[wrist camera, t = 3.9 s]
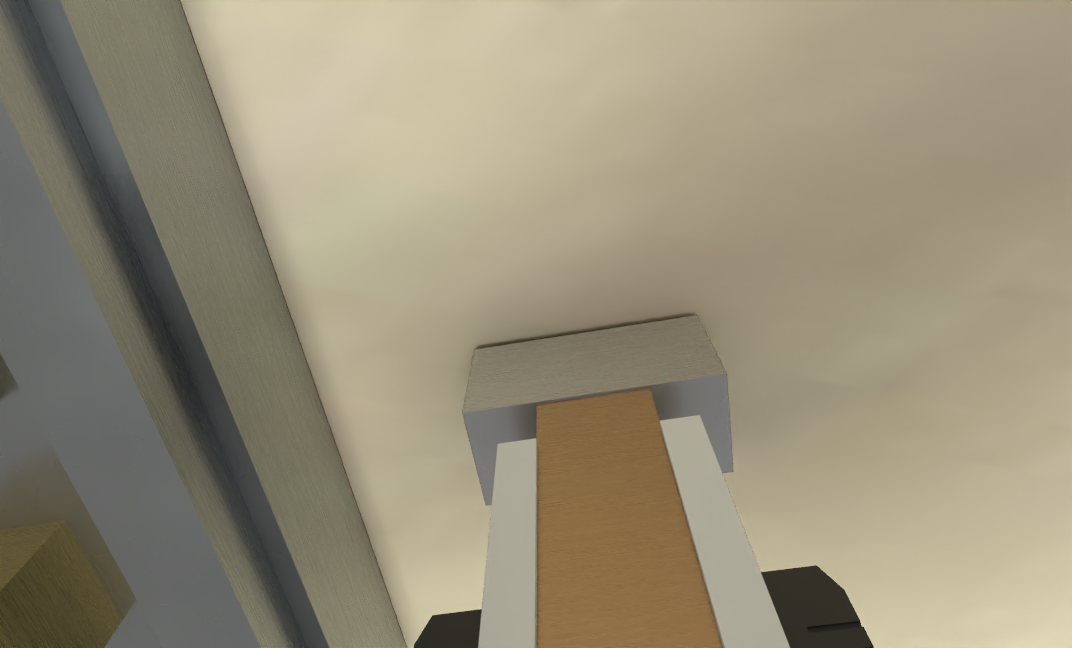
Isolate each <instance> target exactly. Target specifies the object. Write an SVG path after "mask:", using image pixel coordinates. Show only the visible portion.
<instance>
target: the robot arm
mask: <svg viewBox="0 0 1072 648" xmlns="http://www.w3.org/2000/svg"><path fill="white" fill-rule="evenodd" d="M660 427H661V431H662V434H663V438H664V441H665V445H666V448H667V452H668V455H669V459H670V462H671V466H672V469H673V473H674V477H675V480H676V484H677V487H678V491H679V494H680V498H681V501H682V505H683V508H684V512H685V515H686V519H687V522H688V526H689V529H690V533H691V536H692V540H693V543H694V547H695V550H696V554H697V557H698V561H699V564H700V568H701V571H702V575H703V579H704V582H705V586H706V589H707V593H708V596H709V600H710V603H711V607H712V610H713V614H714V617H715V621H716V624H717V628H718V631H719V635H720V638H721V642H722V645H723V648H874V647H873V645H872V643H871V641H870V639H869V637H868V635H867V633H866V631H865V629H864V627H862V626H861V623H860V620H859V618H858V616H857V614H856V612H855V610H854V608H853V606H852V604H851V602H850V600H849V598H848V596H847V594H846V593H845V591H844V589H843V588H841V587H840V586H839V585H838V584H837V583H836V582H835V581H834V580H832V579H831V578H830V577H829V576H828V575H827V574H826V573H824V572H823V571H822V570H821V569H820V568H819V567H818V566H809V567H801V568H793V569H785V570H777V571H769V572H760V569H759V566H758V564H757V561H756V559H755V556H754V554H753V551H752V548H751V546H750V543H749V541H748V538H747V536H746V533H745V530H744V528H743V525H742V523H741V520H740V517H739V515H738V512H737V510H736V507H735V505H734V502H733V499H732V497H731V494H730V492H729V489H728V487H727V484H726V481H725V479H724V476H723V474H722V471H721V469H720V466H719V463H718V461H717V458H716V456H715V453H714V451H713V448H712V445H711V443H710V440H709V438H708V435H707V433H706V430H705V427H704V425H703V422H702V420H701V417H700V415H696V416H689V417H682V418H675V419H668V420H661V421H660ZM537 450H538V445H537V440H536V438H535V439H528V440H521V441H514V442H507V443H500V444H498V445H497V456H496V466H495V477H494V487H493V498H492V508H491V519H490V529H489V539H488V550H487V560H486V571H485V581H484V592H483V602H482V609H480V610H472V611H464V612H456V613H448V614H440V615H433V616H432V617H431V619H430V620H429V622H428V624H427V625H426V627H425V628H424V630H423V632H422V633H421V635H420V636H419V638H418V640H417V641H416V643H415V644H414V648H537Z"/></svg>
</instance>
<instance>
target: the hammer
mask: <svg viewBox="0 0 1072 648" xmlns="http://www.w3.org/2000/svg"><path fill="white" fill-rule="evenodd" d="M462 413H463V417H464V421H465V425H466V429H467V433H468V437H469V441H470V445H471V449H472V453H473V457H474V461H475V465H476V468H477V472H478V476H479V480H480V484H481V488H482V492H483V496H484V500H485V504H486V505H492V498H493V487H494V477H495V466H496V456H497V445H498V444H500V443H507V442H514V441H521V440H528V439H535V438H536V440H537V445H538V450H537V648H723V645H722V642H721V638H720V635H719V631H718V628H717V624H716V621H715V617H714V614H713V610H712V607H711V603H710V600H709V596H708V593H707V589H706V586H705V582H704V579H703V575H702V571H701V568H700V564H699V561H698V557H697V554H696V550H695V547H694V543H693V540H692V536H691V533H690V529H689V526H688V522H687V519H686V515H685V512H684V508H683V505H682V501H681V498H680V494H679V491H678V487H677V484H676V480H675V477H674V473H673V469H672V466H671V462H670V459H669V455H668V452H667V448H666V445H665V441H664V438H663V434H662V431H661V427H660V421H661V420H668V419H675V418H682V417H689V416H696V415H700V417H701V420H702V422H703V425H704V427H705V430H706V433H707V435H708V438H709V440H710V443H711V445H712V448H713V451H714V453H715V456H716V458H717V461H718V463H719V466H720V469H721V471H722V473H727V472H733V457H732V442H731V428H730V413H729V398H728V384H727V373H726V371H725V369H724V367H723V365H722V363H721V361H720V359H719V357H718V355H717V353H716V351H715V349H714V348H713V346H712V344H711V342H710V340H709V338H708V336H707V334H706V332H705V330H704V328H703V326H702V324H701V322H700V320H699V318H698V316H697V315H695V316H688V317H682V318H675V319H669V320H662V321H656V322H649V323H643V324H636V325H630V326H623V327H617V328H610V329H604V330H597V331H591V332H584V333H578V334H571V335H565V336H558V337H552V338H545V339H539V340H533V341H526V342H520V343H513V344H507V345H500V346H494V347H487V348H481V349H474V354H473V359H472V365H471V370H470V375H469V380H468V386H467V391H466V396H465V401H464V407H463V412H462Z"/></svg>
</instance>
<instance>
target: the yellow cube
mask: <svg viewBox="0 0 1072 648" xmlns="http://www.w3.org/2000/svg"><path fill="white" fill-rule="evenodd" d="M122 621H123V620H122V618H121V617H120V615H119V613H118V612H117V610H116V608H115V606H114V605H113V603H112V601H111V599H110V598H109V596H108V594H107V592H106V591H105V589H104V587H103V585H102V584H101V582H100V580H99V579H98V577H97V575H96V573H95V572H94V570H93V568H92V566H91V565H90V563H89V561H88V559H87V558H86V556H85V554H84V553H83V551H82V549H81V547H80V546H79V544H78V542H77V540H76V539H75V537H74V535H73V533H72V532H71V530H70V528H69V526H68V525H67V523H66V521H65V520H64V521H57V522H50V523H43V524H36V525H29V526H22V527H15V528H9V529H2V530H0V648H104V647H105V646H106V644H107V643H108V641H109V640H110V638H111V637H112V635H113V634H114V632H115V631H116V629H117V628H118V626H119V625H120V623H121V622H122Z"/></svg>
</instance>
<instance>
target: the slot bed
mask: <svg viewBox="0 0 1072 648" xmlns="http://www.w3.org/2000/svg"><path fill="white" fill-rule="evenodd" d="M64 520H65V521H66V523H67V525H68V526H69V528H70V530H71V532H72V533H73V535H74V537H75V539H76V540H77V542H78V544H79V546H80V547H81V549H82V551H83V553H84V554H85V556H86V558H87V559H88V561H89V563H90V565H91V566H92V568H93V570H94V572H95V573H96V575H97V577H98V579H99V580H100V582H101V584H102V585H103V587H104V589H105V591H106V592H107V594H108V596H109V598H110V599H111V601H112V603H113V605H114V606H115V608H116V610H117V612H118V613H119V615H120V617H121V618H122V620H123V621H122V622H121V623H120V625H119V626H118V628H117V629H116V631H115V632H114V634H113V635H112V637H111V638H110V640H109V641H108V643H107V644H106V646H105V647H104V648H407V647H406V644H405V641H404V638H403V635H402V633H401V630H400V627H399V624H398V621H397V618H396V615H395V613H394V610H393V607H392V604H391V601H390V598H389V596H388V593H387V590H386V587H385V584H384V581H383V578H382V576H381V573H380V570H379V567H378V564H377V561H376V559H375V556H374V553H373V550H372V547H371V544H370V541H369V539H368V536H367V533H366V530H365V527H364V524H363V522H362V519H361V516H360V513H359V510H358V507H357V504H356V502H355V499H354V496H353V493H352V490H351V487H350V485H349V482H348V479H347V476H346V473H345V470H344V467H343V465H342V462H341V459H340V456H339V453H338V450H337V447H336V445H335V442H334V439H333V436H332V433H331V430H330V428H329V425H328V422H327V419H326V416H325V413H324V410H323V408H322V405H321V402H320V399H319V396H318V393H317V391H316V388H315V385H314V382H313V379H312V376H311V373H310V371H309V368H308V365H307V362H306V359H305V356H304V354H303V351H302V348H301V345H300V342H299V339H298V336H297V334H296V331H295V328H294V325H293V322H292V319H291V317H290V314H289V311H288V308H287V305H286V302H285V299H284V297H283V294H282V291H281V288H280V285H279V282H278V280H277V277H276V274H275V271H274V268H273V265H272V262H271V260H270V257H269V254H268V251H267V248H266V245H265V242H264V240H263V237H262V234H261V231H260V228H259V225H258V223H257V220H256V217H255V214H254V211H253V208H252V205H251V203H250V200H249V197H248V194H247V191H246V188H245V186H244V183H243V180H242V177H241V174H240V171H239V168H238V166H237V163H236V160H235V157H234V154H233V151H232V149H231V146H230V143H229V140H228V137H227V134H226V131H225V129H224V126H223V123H222V120H221V117H220V114H219V112H218V109H217V106H216V103H215V100H214V97H213V94H212V92H211V89H210V86H209V83H208V80H207V77H206V74H205V72H204V69H203V66H202V63H201V60H200V57H199V55H198V52H197V49H196V46H195V43H194V40H193V37H192V35H191V32H190V29H189V26H188V23H187V20H186V18H185V15H184V12H183V9H182V6H181V3H180V0H0V530H2V529H9V528H15V527H22V526H29V525H36V524H43V523H50V522H57V521H64Z"/></svg>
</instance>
